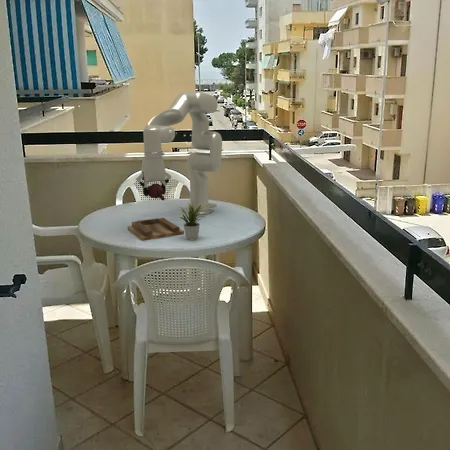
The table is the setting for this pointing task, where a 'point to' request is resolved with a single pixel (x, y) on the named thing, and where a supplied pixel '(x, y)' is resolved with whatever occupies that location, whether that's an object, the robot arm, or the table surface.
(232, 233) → the table surface
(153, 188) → the icecream
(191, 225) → the house plant
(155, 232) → the cradle
